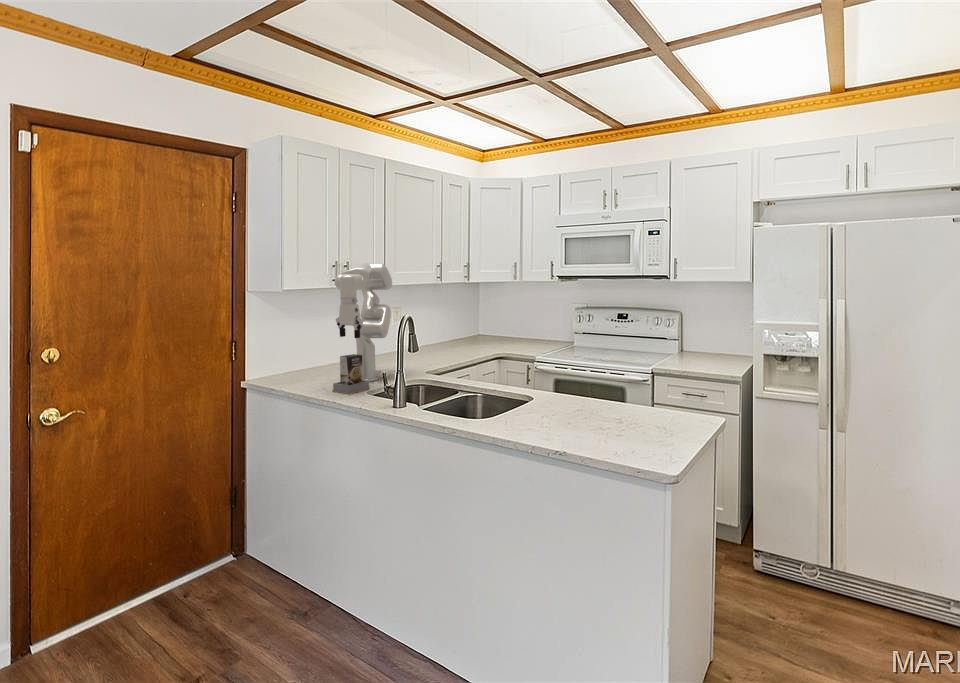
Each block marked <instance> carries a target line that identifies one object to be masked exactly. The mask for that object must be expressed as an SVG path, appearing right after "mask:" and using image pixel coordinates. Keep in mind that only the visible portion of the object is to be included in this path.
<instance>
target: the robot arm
mask: <svg viewBox="0 0 960 683" xmlns="http://www.w3.org/2000/svg"><path fill="white" fill-rule="evenodd" d="M334 286H335V287H336V289H337V290H339V294H340V295H339V297H340V304H339V310H338V312H339V313H338V314H339V315H338V317H337V318H335V322H336V325H337V328H338V329H339V337H340V338H343V337H346V333H347V332H346V328H345V327H346V326H350V327H351V326H353V330H354V331H353V332H354V334H353V335H354V336H353V337H354V339H355V343H356V354H357V355H362V366H363V380H364V381H369V382H375V381H378V380H379V379H380V377H379V376H378V375H380V374H382V370H381V369H379V370H377V369H376V368H377V367H376V346H375V344H374V342H373V340H372V339H385V338H386V337H387V336H388V334H389V329H390V324H391V318H392V310H391V307H390V306H389V305H387V304H383V303H382V304H381V303H380V301H381V300H380V297H379V296H378V295H377V293H376V292H374V291H386V290H387V291H388V290H390V289H391V288H392V287H393V278H392V276H391V274H390V271H389V269H388V267H387V266H386V264H384V263H381V262H365V263H363V264H361V265H359V266H358V267H356V268H352V269H348V270H344V271H340V272H339V273H337V275H336V276H335V279H334ZM357 291H361V292H362V296H363V302H362V306H361V311H360V308H359V307H360V306H359V304H358V301H359V300H358V299H357V298H358V296H357V295H358V294H357V293H358V292H357Z"/></svg>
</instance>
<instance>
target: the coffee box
mask: <svg viewBox="0 0 960 683" xmlns="http://www.w3.org/2000/svg"><path fill="white" fill-rule="evenodd" d="M339 373H340V374H339V376H340V378H339V380H340V381H339V382H340V384H343V385H353V384H357V383H361V382H363V366H362V355H357V353H356V354H354V353H353V354H346V355H340V356H339Z"/></svg>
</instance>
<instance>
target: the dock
mask: <svg viewBox="0 0 960 683" xmlns="http://www.w3.org/2000/svg"><path fill="white" fill-rule="evenodd" d="M332 388H333V389H332V392H333V393H337V392H338V394H343V393H345V395H352V393H353V394H356V392H357V393H360V392H363V391H368V390H370V388H371V387H370V381H364V380H363V382H361V383H357V384H353V385H343V384H340V381H339V382H334V383H332Z"/></svg>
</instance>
